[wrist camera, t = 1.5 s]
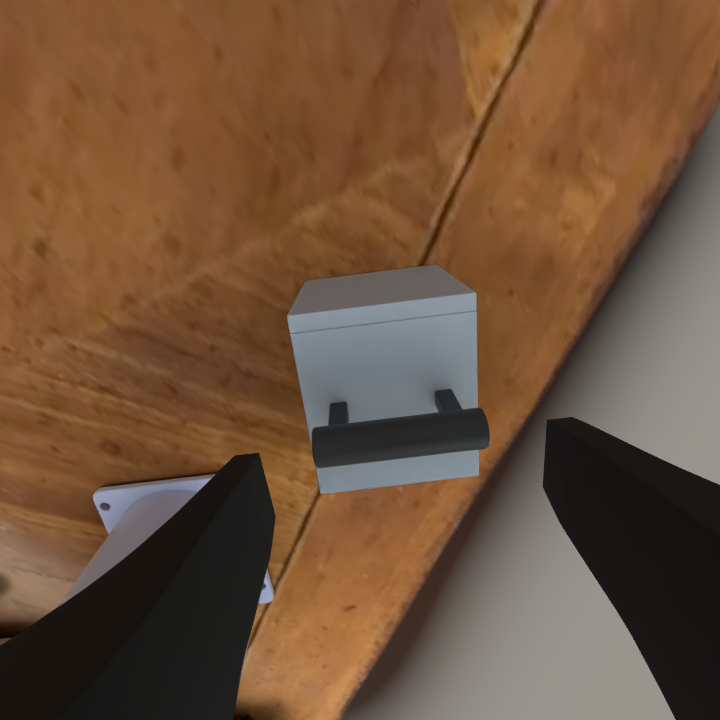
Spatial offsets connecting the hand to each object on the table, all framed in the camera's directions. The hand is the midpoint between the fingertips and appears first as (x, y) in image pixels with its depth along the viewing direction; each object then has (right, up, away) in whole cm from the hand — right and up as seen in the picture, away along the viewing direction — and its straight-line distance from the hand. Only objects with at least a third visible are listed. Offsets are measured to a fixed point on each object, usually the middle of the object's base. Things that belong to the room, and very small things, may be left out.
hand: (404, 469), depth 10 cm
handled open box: (0, +3, +9) cm, 10 cm away
